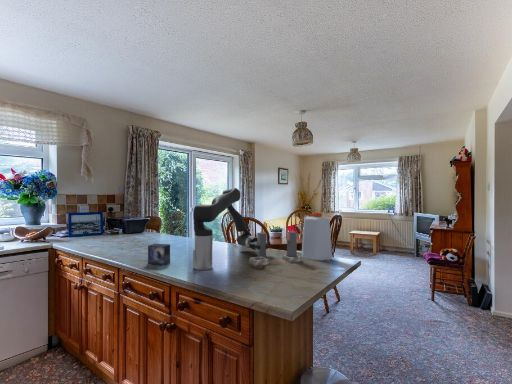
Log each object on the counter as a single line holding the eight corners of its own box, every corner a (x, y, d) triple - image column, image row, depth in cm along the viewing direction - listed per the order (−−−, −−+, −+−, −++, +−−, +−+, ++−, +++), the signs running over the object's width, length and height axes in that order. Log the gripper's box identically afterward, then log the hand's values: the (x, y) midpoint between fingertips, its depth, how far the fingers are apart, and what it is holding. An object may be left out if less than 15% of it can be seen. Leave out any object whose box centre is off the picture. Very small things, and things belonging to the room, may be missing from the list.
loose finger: (259, 261, 160) (259, 233, 160) (257, 259, 164) (257, 232, 164) (266, 260, 162) (267, 233, 162) (264, 259, 165) (264, 232, 166)
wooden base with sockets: (255, 268, 145) (255, 261, 145) (249, 264, 153) (249, 257, 153) (302, 264, 155) (302, 256, 155) (294, 260, 163) (294, 253, 163)
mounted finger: (289, 261, 155) (289, 232, 155) (286, 259, 158) (286, 231, 159) (296, 260, 156) (296, 232, 156) (293, 259, 160) (293, 231, 160)
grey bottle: (318, 263, 156) (319, 213, 156) (298, 258, 167) (298, 212, 168) (334, 259, 165) (334, 212, 166) (314, 255, 177) (314, 211, 177)
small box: (147, 264, 153) (147, 245, 153) (154, 261, 159) (154, 243, 159) (164, 265, 150) (164, 246, 150) (170, 262, 157) (170, 244, 157)
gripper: (242, 237, 173) (252, 241, 157) (263, 236, 179) (274, 240, 163) (242, 249, 173) (252, 254, 157) (263, 247, 179) (274, 253, 163)
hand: (263, 247), depth 160 cm, fingers closed on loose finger, 4 cm apart
